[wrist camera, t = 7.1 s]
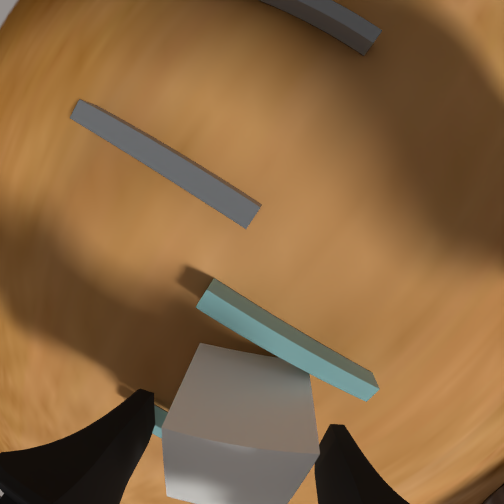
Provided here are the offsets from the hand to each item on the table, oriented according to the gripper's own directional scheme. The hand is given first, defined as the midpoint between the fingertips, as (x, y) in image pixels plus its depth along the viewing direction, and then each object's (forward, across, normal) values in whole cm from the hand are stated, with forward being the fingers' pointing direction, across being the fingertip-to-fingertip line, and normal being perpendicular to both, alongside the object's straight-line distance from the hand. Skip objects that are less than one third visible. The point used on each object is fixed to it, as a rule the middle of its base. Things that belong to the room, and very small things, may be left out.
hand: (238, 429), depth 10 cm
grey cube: (+2, 0, 0) cm, 2 cm away
